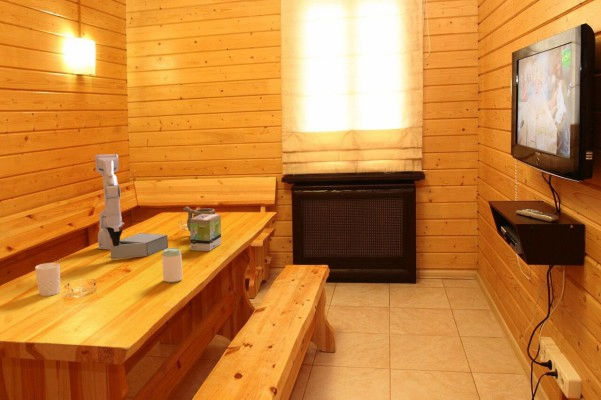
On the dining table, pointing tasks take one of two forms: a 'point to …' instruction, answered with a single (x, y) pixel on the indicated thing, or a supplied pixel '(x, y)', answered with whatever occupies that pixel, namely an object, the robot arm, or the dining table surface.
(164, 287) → the dining table surface
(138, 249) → the grey drawer
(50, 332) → the dining table surface
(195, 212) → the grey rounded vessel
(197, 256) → the dining table surface
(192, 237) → the tea box
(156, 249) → the carton
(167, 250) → the can
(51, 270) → the white cup
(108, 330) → the dining table surface
